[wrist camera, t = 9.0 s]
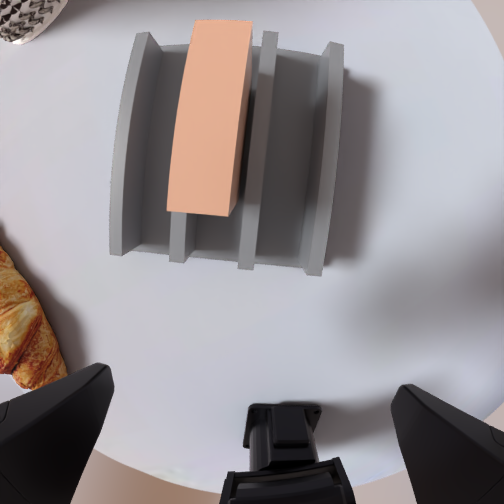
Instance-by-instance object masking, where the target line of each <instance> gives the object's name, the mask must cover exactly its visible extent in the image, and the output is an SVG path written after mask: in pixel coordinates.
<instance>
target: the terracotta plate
mask: <svg viewBox="0 0 504 504" xmlns="http://www.w3.org/2000/svg"><path fill="white" fill-rule="evenodd" d="M252 28H253V21H238V20H195V24H194V28H193V32H192V36H191V41H190V45H189V50H188V54H187V59H186V64H185V69H184V74H183V80H182V85H181V91H180V97H179V103H178V109H177V116H176V123H175V130H174V138H173V146H172V155H171V164H170V174H169V185H168V198H167V211H172V212H184V213H196V214H207V215H217V216H227V217H228V216H229V214H230V213H231V211H232V210H233V208H234V207H235V205H236V204H237V202H238V201H239V192H240V183H241V174H242V165H243V156H244V147H245V139H246V130H247V122H248V114H249V106H250V97H251V90H252Z"/></svg>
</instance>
